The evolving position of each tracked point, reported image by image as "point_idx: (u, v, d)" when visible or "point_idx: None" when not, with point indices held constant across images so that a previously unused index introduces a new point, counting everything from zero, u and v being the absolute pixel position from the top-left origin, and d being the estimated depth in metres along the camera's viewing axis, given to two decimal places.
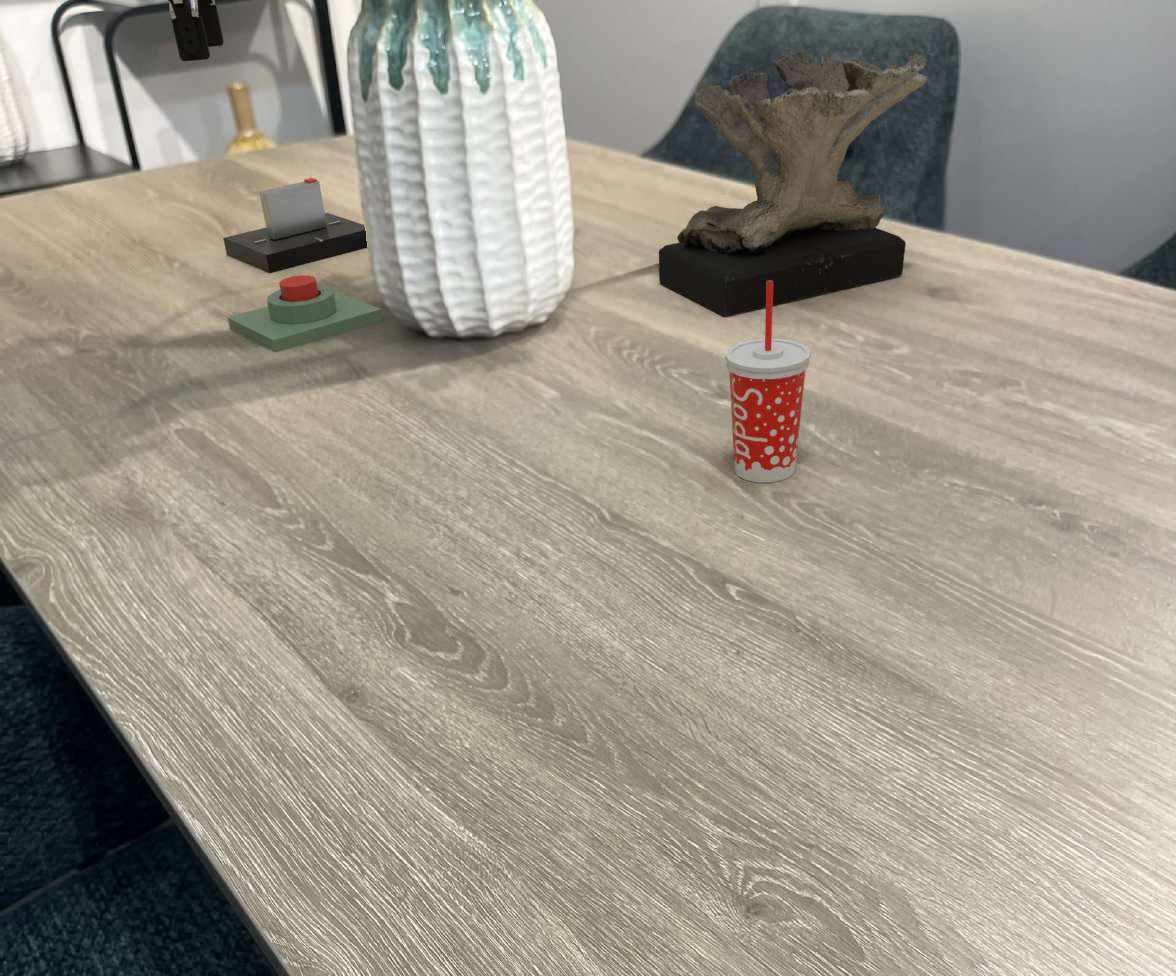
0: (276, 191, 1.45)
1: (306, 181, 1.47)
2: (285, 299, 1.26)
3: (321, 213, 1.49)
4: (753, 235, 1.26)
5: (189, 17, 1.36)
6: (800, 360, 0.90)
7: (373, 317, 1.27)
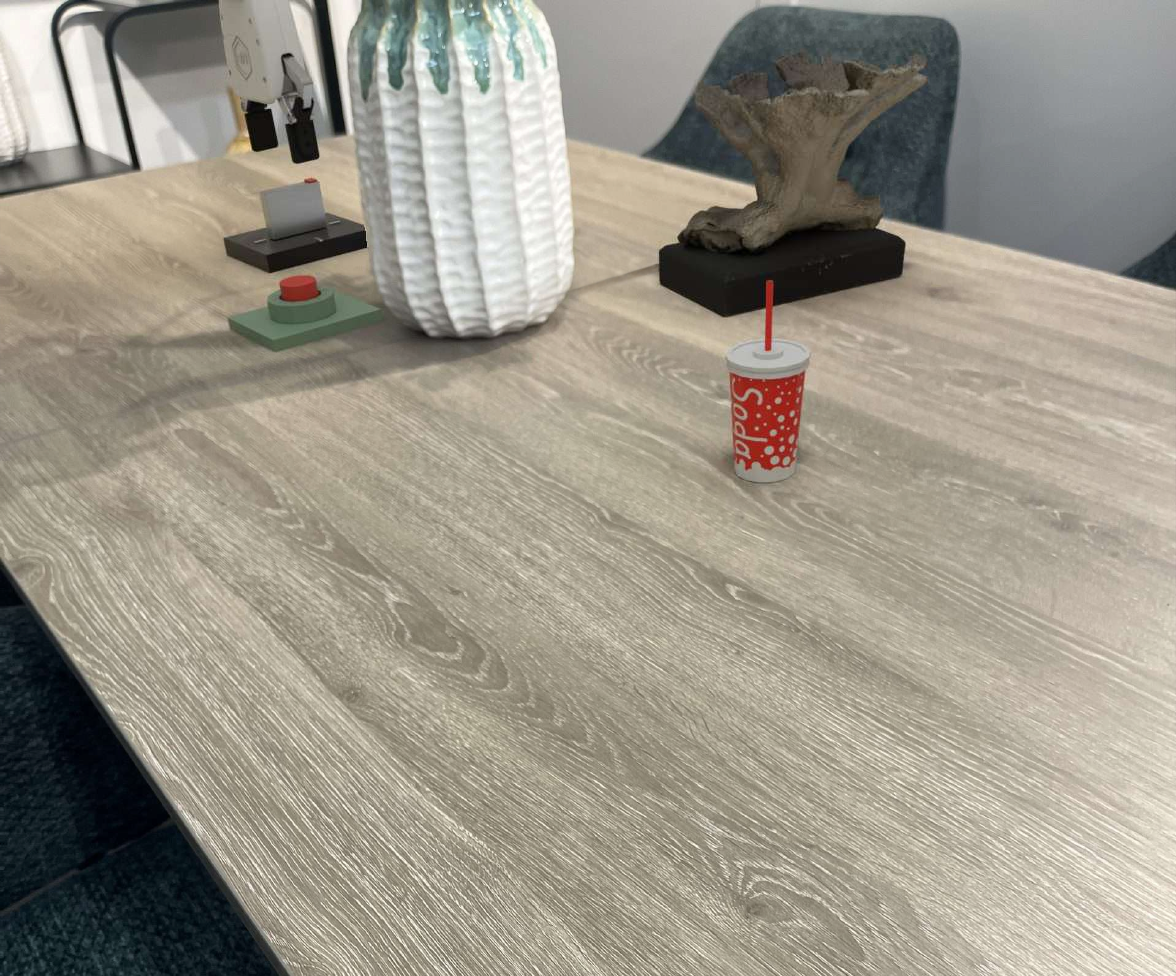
0: (276, 191, 1.45)
1: (306, 181, 1.47)
2: (285, 299, 1.26)
3: (321, 213, 1.49)
4: (753, 235, 1.26)
5: (307, 120, 1.38)
6: (800, 360, 0.90)
7: (373, 317, 1.27)
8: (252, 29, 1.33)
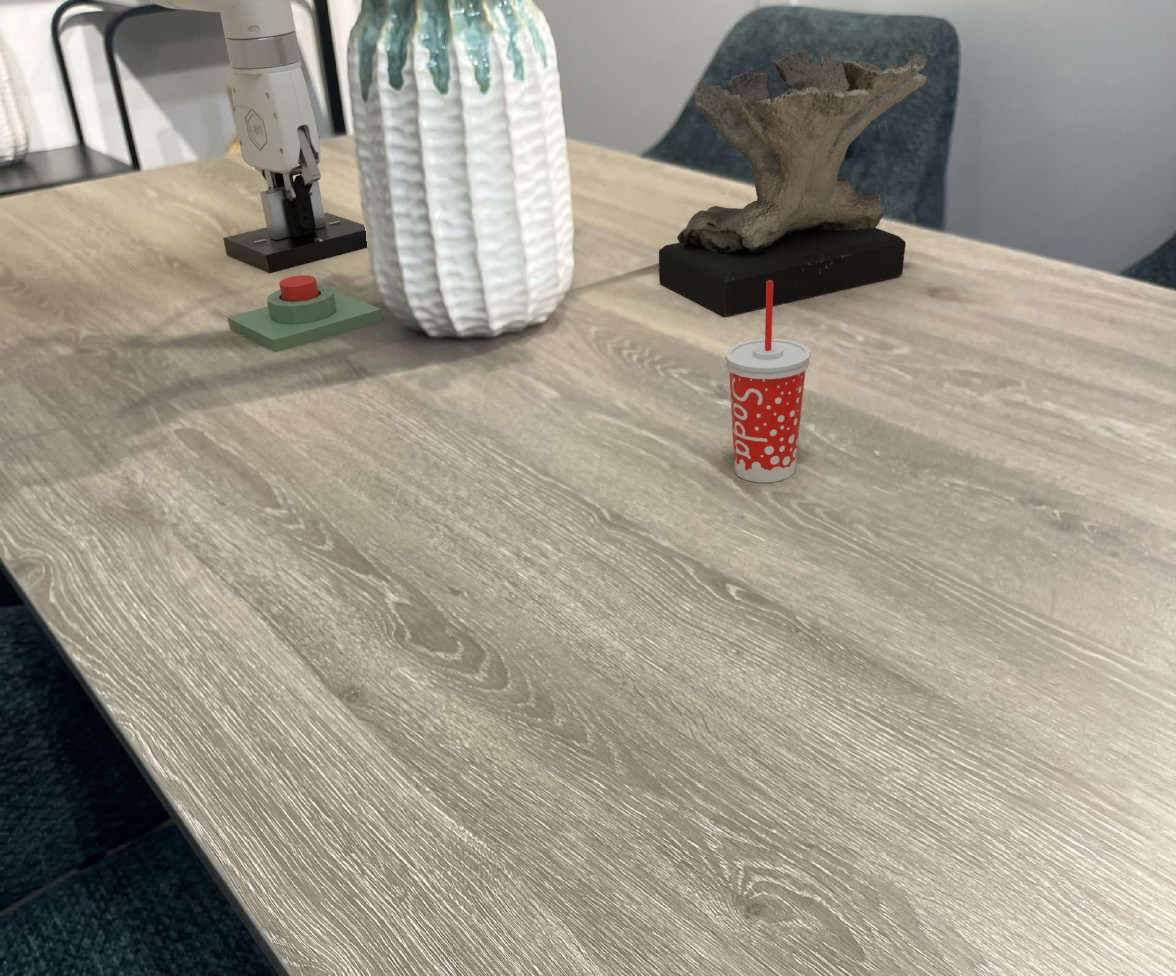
0: (277, 191, 1.45)
1: None
2: (285, 299, 1.26)
3: (320, 213, 1.49)
4: (753, 235, 1.26)
5: (306, 196, 1.46)
6: (800, 360, 0.90)
7: (373, 317, 1.27)
8: (269, 103, 1.37)
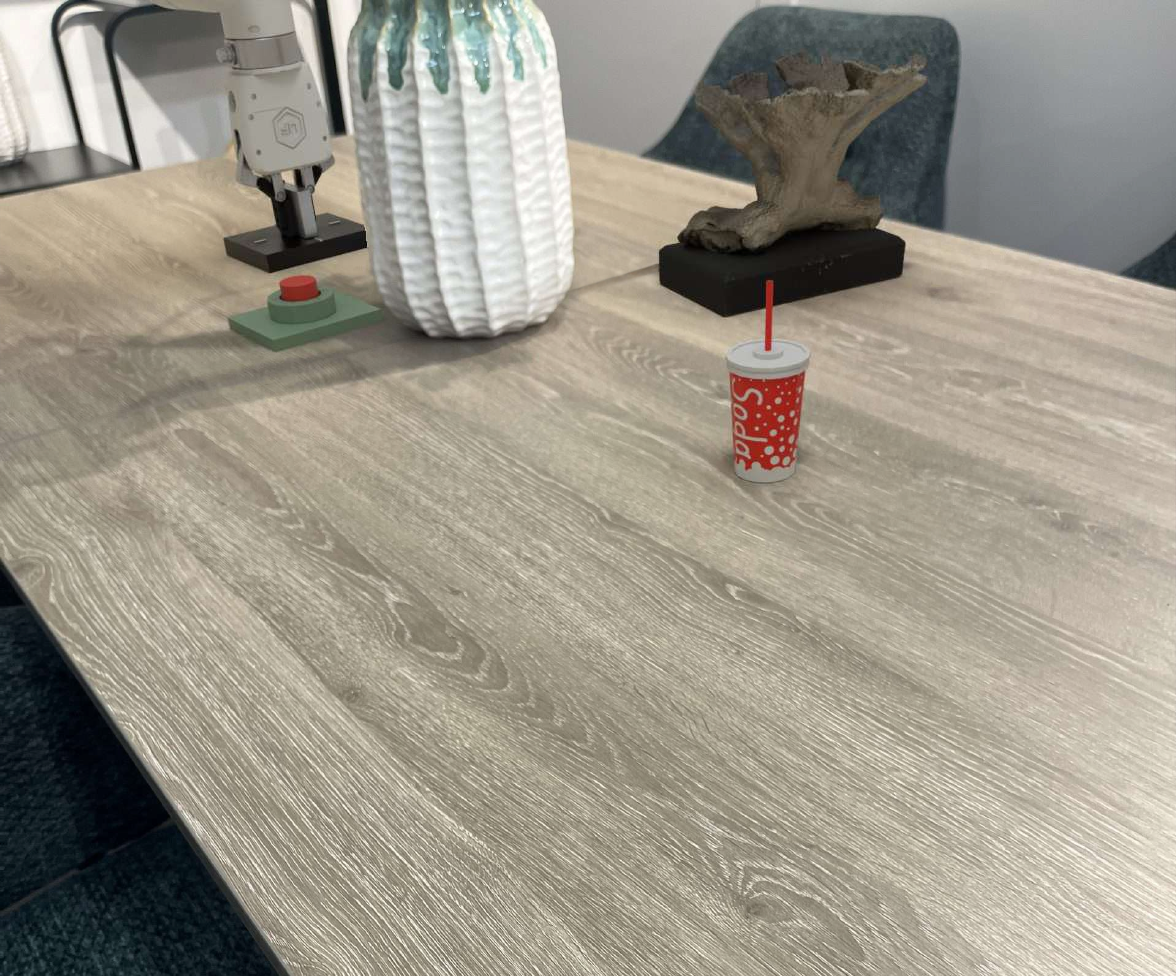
0: (302, 188, 1.45)
1: None
2: (285, 299, 1.26)
3: None
4: (753, 235, 1.26)
5: None
6: (800, 360, 0.90)
7: (373, 317, 1.27)
8: (311, 93, 1.40)
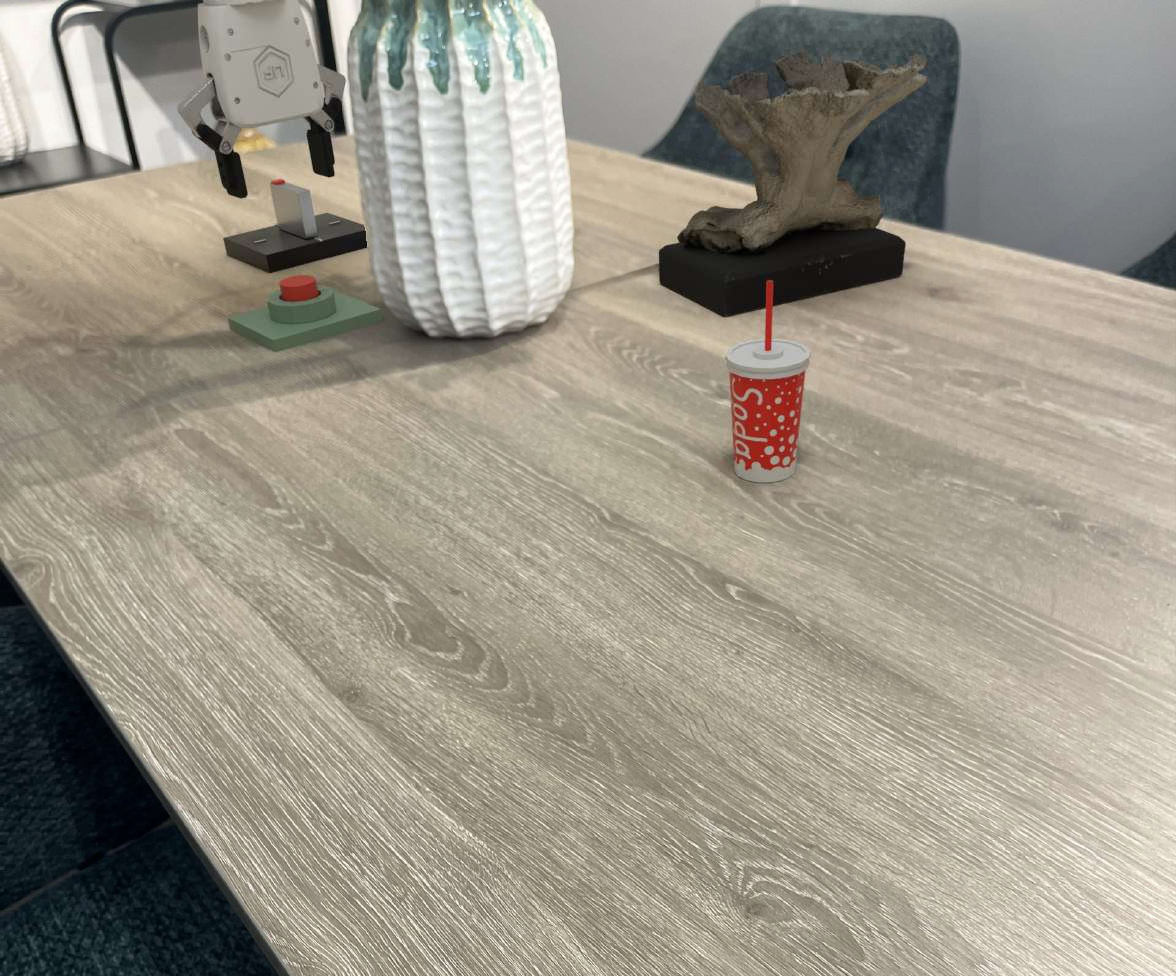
0: (302, 188, 1.45)
1: (279, 182, 1.48)
2: (285, 299, 1.26)
3: None
4: (753, 235, 1.26)
5: None
6: (800, 360, 0.90)
7: (373, 317, 1.27)
8: (299, 29, 1.17)
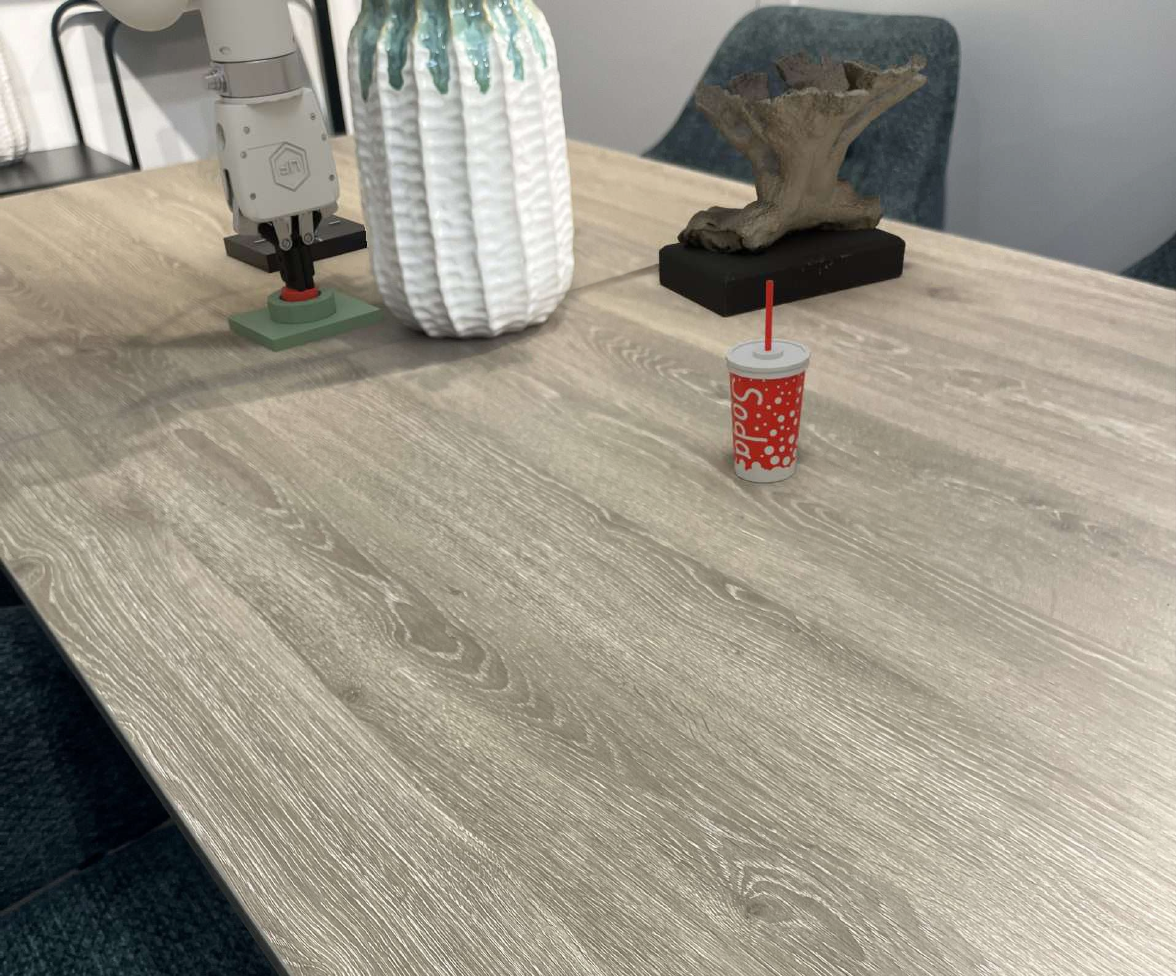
0: None
1: None
2: None
3: None
4: (753, 235, 1.26)
5: None
6: (800, 360, 0.90)
7: (373, 317, 1.27)
8: (315, 125, 1.17)
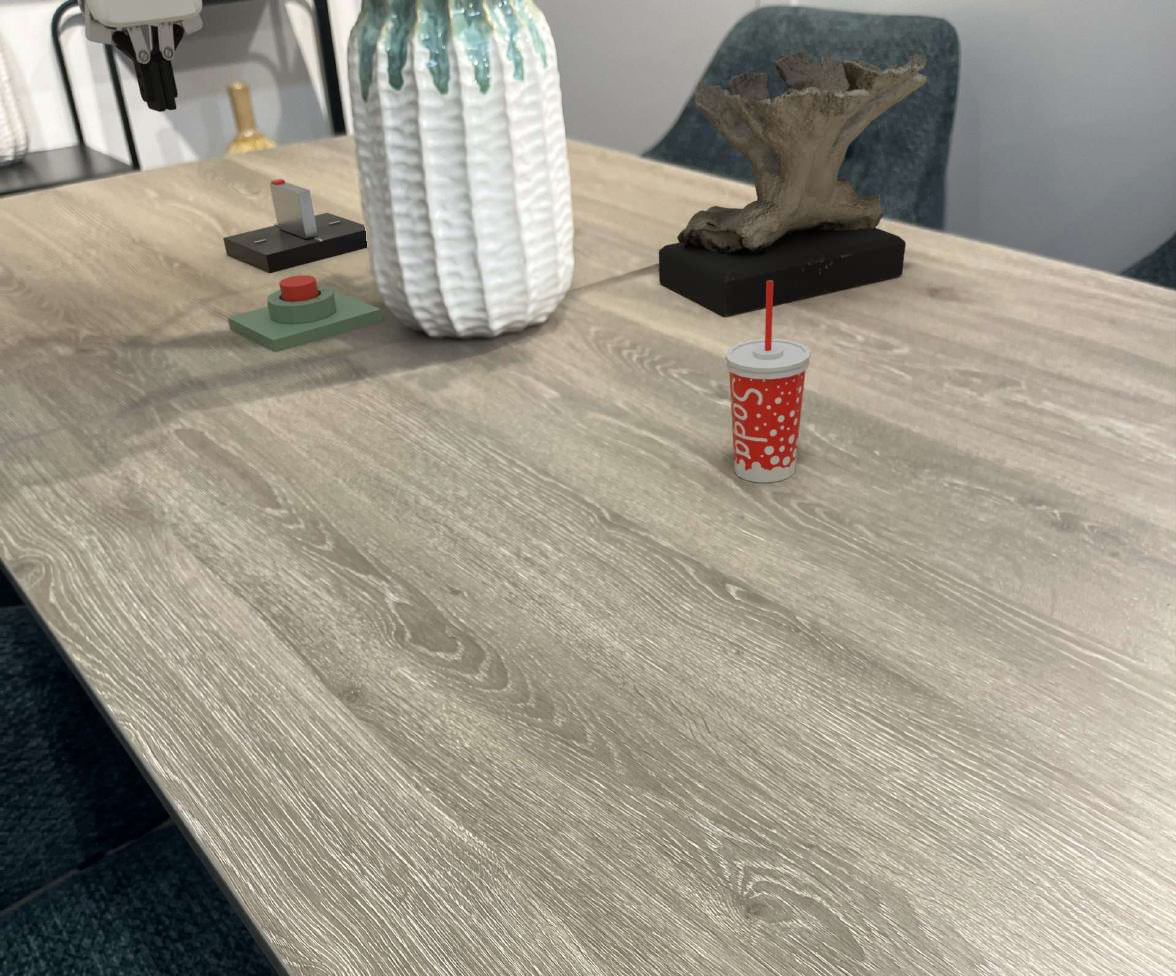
0: (302, 188, 1.45)
1: (279, 182, 1.48)
2: (285, 299, 1.26)
3: None
4: (753, 235, 1.26)
5: None
6: (800, 360, 0.90)
7: (373, 317, 1.27)
8: None
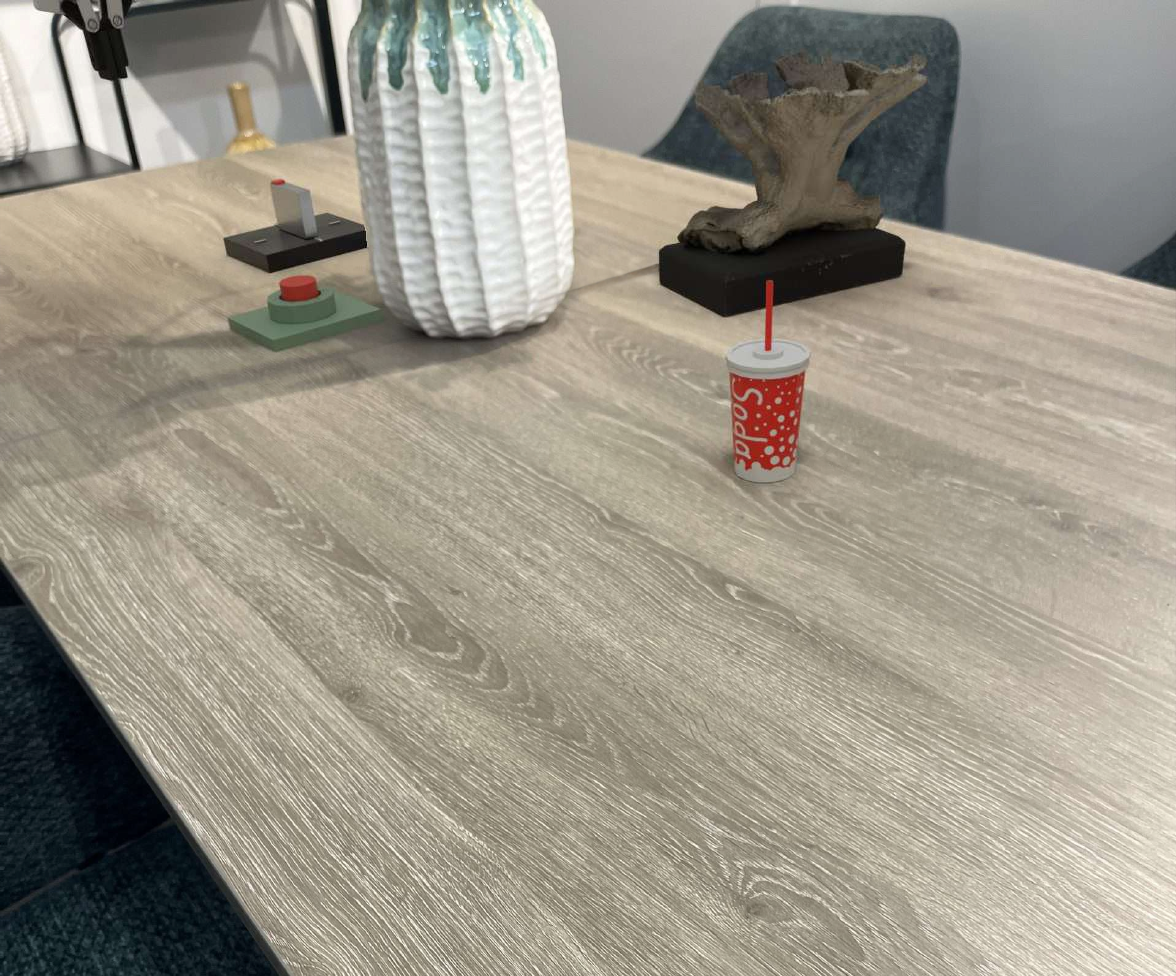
0: (302, 188, 1.45)
1: (279, 182, 1.48)
2: (285, 299, 1.26)
3: None
4: (753, 235, 1.26)
5: None
6: (800, 360, 0.90)
7: (373, 317, 1.27)
8: None
